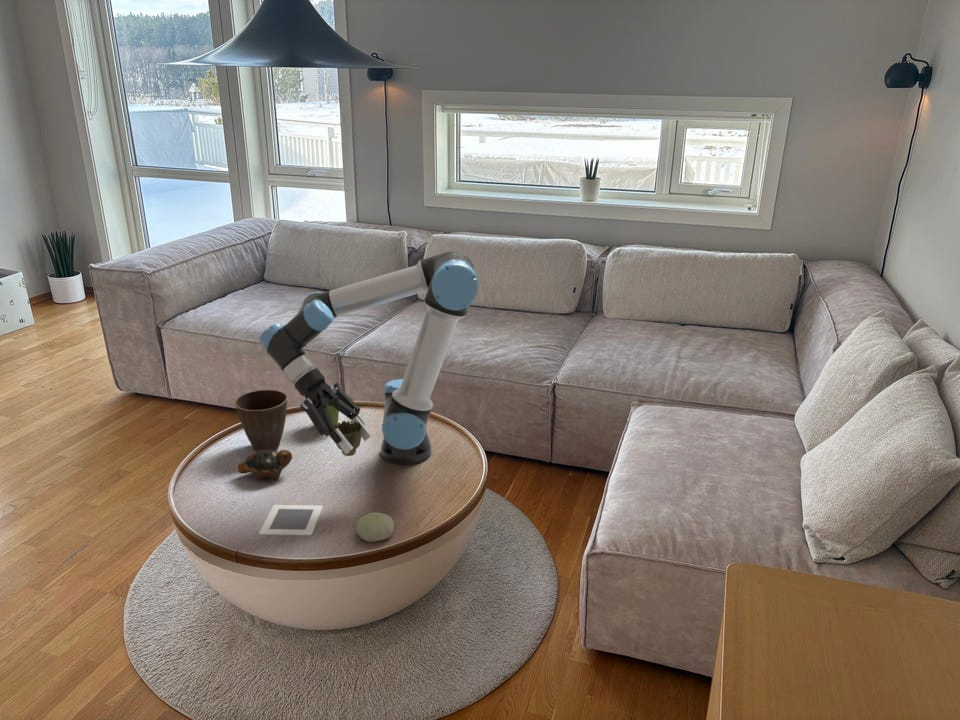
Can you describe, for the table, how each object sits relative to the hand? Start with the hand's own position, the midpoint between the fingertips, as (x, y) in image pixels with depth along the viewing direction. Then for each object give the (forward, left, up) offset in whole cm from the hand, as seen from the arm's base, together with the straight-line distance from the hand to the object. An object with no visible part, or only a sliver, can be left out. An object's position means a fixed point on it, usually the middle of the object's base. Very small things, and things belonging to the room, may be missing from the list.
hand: (359, 444), depth 185 cm
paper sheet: (+16, +10, -16) cm, 25 cm away
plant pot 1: (+34, -29, -17) cm, 47 cm away
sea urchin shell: (-6, +16, -17) cm, 24 cm away
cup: (+3, -2, -4) cm, 5 cm away
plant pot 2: (+19, -44, -17) cm, 50 cm away
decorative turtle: (+29, -12, -17) cm, 35 cm away
